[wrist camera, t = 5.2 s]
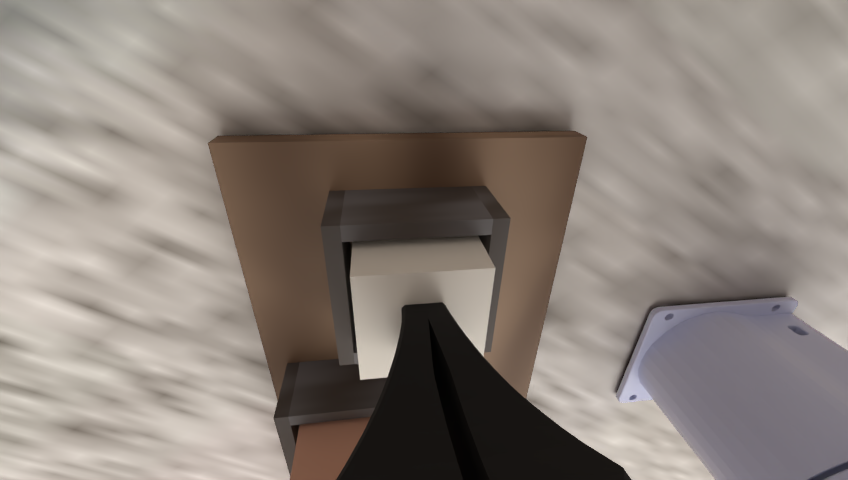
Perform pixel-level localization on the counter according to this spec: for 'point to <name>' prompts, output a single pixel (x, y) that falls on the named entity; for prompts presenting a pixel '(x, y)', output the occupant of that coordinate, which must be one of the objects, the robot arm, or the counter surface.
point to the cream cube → (416, 291)
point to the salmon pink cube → (325, 448)
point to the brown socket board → (387, 220)
